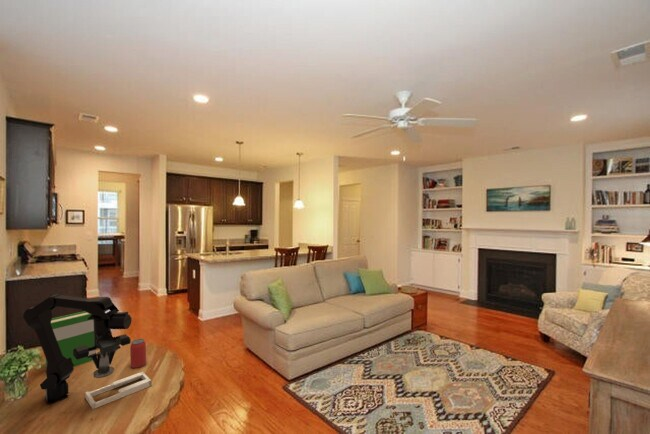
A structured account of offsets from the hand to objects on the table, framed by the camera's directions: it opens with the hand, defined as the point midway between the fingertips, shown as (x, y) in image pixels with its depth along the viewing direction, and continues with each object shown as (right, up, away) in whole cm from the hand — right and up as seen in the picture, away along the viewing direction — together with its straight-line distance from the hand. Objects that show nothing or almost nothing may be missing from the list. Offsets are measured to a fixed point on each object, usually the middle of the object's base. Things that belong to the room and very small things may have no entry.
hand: (103, 366), depth 132 cm
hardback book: (-34, -12, +26) cm, 45 cm away
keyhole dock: (+4, -13, +5) cm, 14 cm away
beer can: (-1, -12, +26) cm, 29 cm away
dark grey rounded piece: (0, -3, 0) cm, 3 cm away
